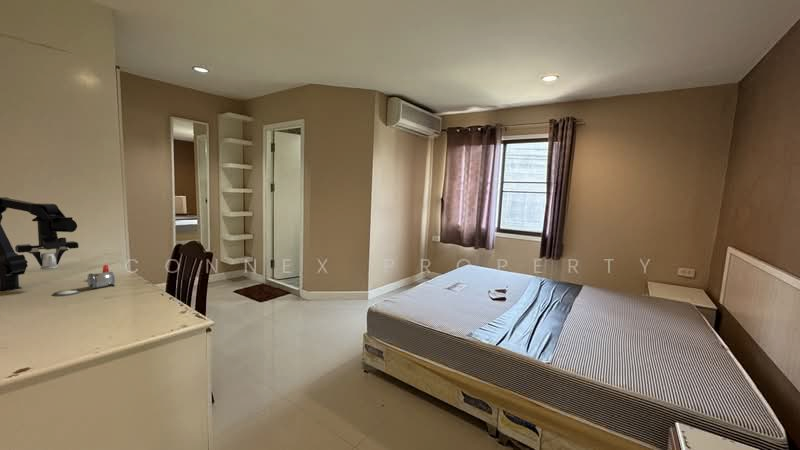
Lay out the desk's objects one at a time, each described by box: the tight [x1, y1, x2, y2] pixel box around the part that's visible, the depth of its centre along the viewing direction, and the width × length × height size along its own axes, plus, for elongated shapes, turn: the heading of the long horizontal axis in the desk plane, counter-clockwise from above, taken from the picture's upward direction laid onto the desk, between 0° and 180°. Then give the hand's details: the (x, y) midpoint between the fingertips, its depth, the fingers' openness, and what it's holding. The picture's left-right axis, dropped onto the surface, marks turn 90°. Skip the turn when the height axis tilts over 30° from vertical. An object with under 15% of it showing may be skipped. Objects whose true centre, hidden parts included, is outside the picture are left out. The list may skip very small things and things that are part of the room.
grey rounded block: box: [87, 271, 116, 290], centre depth 152 cm, size 8×8×7 cm
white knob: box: [40, 252, 59, 271], centre depth 145 cm, size 6×5×7 cm
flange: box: [52, 288, 83, 297], centre depth 143 cm, size 9×9×1 cm
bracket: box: [102, 264, 110, 273], centre depth 162 cm, size 12×4×8 cm, turn 33°
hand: (49, 265), depth 145 cm, fingers closed on white knob, 5 cm apart
